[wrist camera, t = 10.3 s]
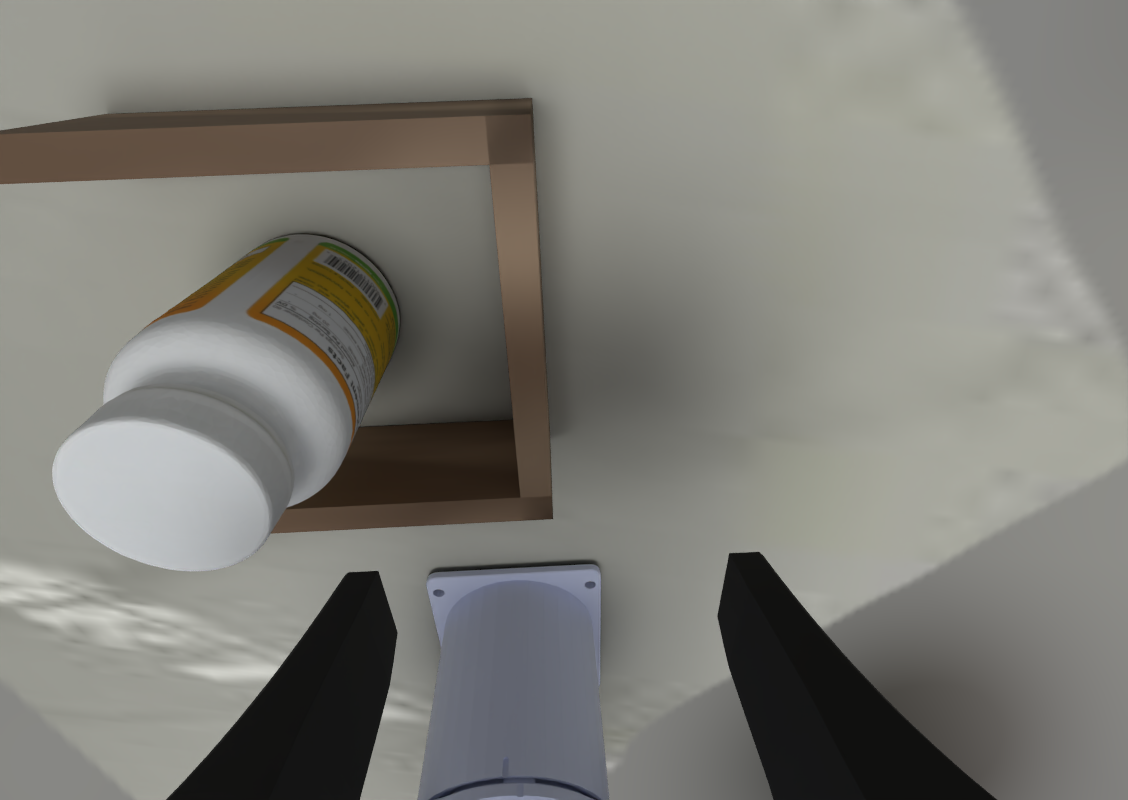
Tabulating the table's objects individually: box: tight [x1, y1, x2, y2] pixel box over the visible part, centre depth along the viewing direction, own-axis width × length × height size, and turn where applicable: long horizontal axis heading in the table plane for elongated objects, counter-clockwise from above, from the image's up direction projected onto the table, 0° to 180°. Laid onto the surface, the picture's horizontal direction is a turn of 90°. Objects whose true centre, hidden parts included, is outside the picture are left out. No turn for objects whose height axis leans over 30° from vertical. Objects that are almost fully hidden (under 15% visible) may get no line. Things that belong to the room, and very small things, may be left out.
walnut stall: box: [0, 98, 553, 533], centre depth 17 cm, size 12×12×4 cm
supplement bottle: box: [52, 234, 400, 571], centre depth 15 cm, size 5×5×10 cm
